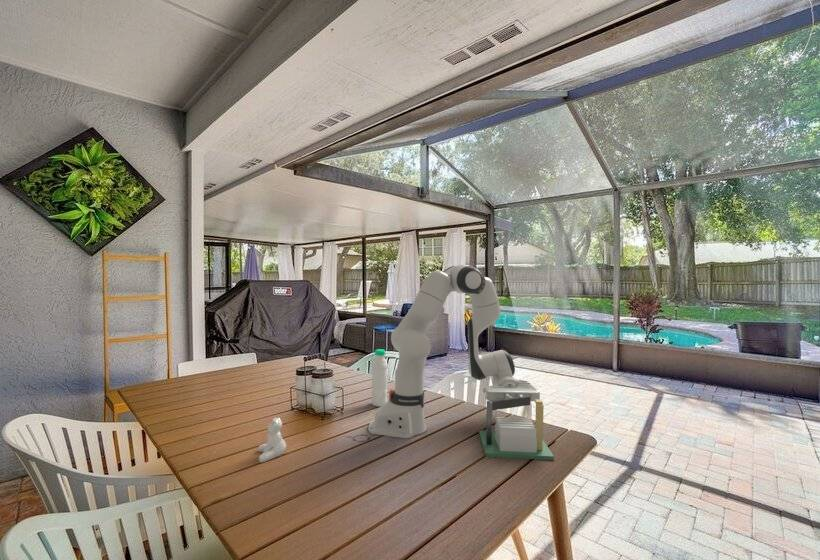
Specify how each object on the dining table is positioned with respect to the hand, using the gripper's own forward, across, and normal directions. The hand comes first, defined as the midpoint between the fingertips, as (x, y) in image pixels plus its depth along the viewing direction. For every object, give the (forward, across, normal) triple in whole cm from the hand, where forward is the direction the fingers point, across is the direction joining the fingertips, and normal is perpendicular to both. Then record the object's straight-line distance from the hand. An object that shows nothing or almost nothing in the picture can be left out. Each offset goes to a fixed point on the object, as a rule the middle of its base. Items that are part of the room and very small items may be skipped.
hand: (516, 401), depth 135 cm
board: (+5, -2, +14) cm, 15 cm away
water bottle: (-33, -54, +15) cm, 65 cm away
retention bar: (+3, -4, +13) cm, 14 cm away
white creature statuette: (+16, -84, +14) cm, 86 cm away
